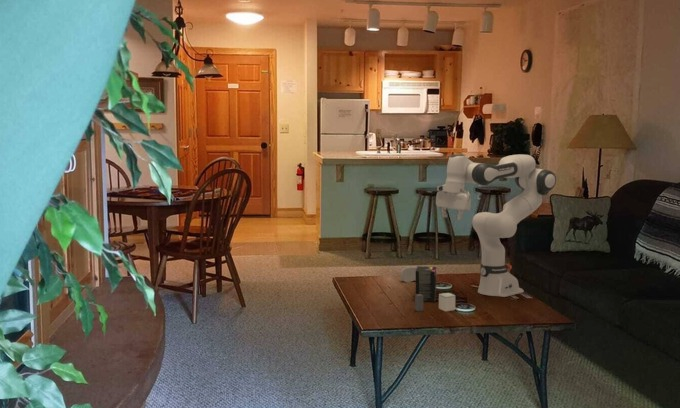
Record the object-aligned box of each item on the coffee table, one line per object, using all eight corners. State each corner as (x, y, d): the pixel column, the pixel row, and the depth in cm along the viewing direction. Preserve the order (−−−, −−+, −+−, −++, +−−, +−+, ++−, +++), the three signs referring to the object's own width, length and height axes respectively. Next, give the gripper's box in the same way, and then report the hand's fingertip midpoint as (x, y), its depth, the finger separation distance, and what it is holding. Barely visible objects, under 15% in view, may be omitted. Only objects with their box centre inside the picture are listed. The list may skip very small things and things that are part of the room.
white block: (448, 307, 280) (448, 292, 279) (455, 310, 275) (455, 295, 274) (438, 308, 278) (438, 294, 277) (445, 311, 273) (445, 296, 272)
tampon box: (435, 302, 288) (435, 271, 286) (415, 301, 289) (415, 270, 288) (436, 296, 298) (436, 266, 297) (417, 295, 300) (417, 265, 298)
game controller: (435, 280, 331) (435, 264, 330) (436, 281, 328) (436, 265, 327) (400, 281, 327) (400, 266, 326) (401, 282, 325) (401, 267, 324)
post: (420, 309, 277) (420, 293, 276) (423, 310, 274) (423, 295, 274) (414, 309, 276) (415, 294, 275) (418, 311, 273) (418, 296, 272)
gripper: (475, 191, 280) (472, 221, 281) (444, 187, 298) (442, 216, 299) (465, 190, 277) (462, 221, 278) (434, 186, 294) (432, 215, 295)
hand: (451, 218), depth 288 cm, fingers open, 8 cm apart
